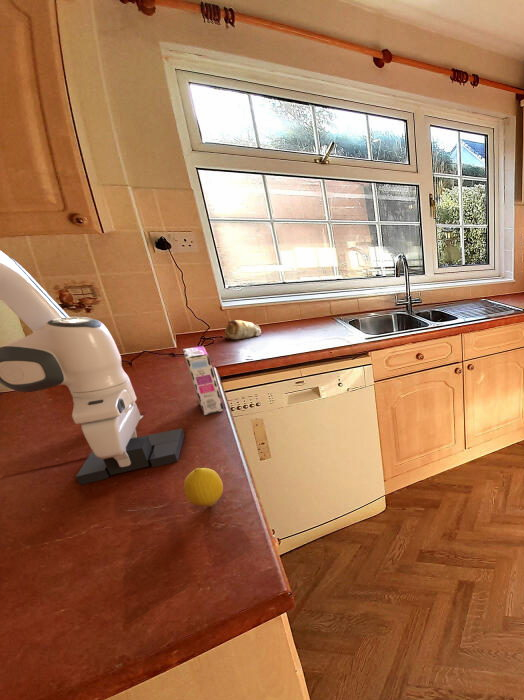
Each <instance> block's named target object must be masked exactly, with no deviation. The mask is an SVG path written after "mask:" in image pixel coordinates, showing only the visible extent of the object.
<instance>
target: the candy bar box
mask: <svg viewBox="0 0 524 700" xmlns="http://www.w3.org/2000/svg"><path fill="white" fill-rule="evenodd" d="M182 351H183V354H184V359H185V362H186V365H187V368H188V371H189V374H190V378H191V381H192V384H193V387H194V390H195V394H196V396H197V400H198V402H199V403H198V404H199V405H200V408H201V412H202V413H203V416H209V415H213V414H217V413H221V412H224V411H225V408H224V404H223V401H222V397H221V393H220V391H219V387H218V382H217V380H216V376H215V373H214V370H213V365H212V363H211V360H210V356H209V353H208V352H207V350H206V347H204V346H203V345H202V346H194V347H189V348H188V347H187V348H183V349H182Z"/></svg>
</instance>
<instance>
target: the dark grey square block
mask: <svg viewBox="0 0 524 700" xmlns="http://www.w3.org/2000/svg"><path fill="white" fill-rule="evenodd" d="M126 452H127V454H128V455H130V457H131V460H132V462H131V464H130V465H129V466H125V467H120V466H119V464H118V462H117V460H116V459H114V458H113V457H111V458H106V459H103V460H104V462H105V465H106V467H107V469H108V471H109V474H110V476H114V475H119V474H123V473H126V472H130V471H135V470H139V469H143V468H147V467H150V466H151V462H150V457H151V454H152V452H153V448H152V446H151V443H150V441H149V438H148V436H147V435H143V436H137V438H132V439H130V440H129V442H128V444H127V446H126Z"/></svg>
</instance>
